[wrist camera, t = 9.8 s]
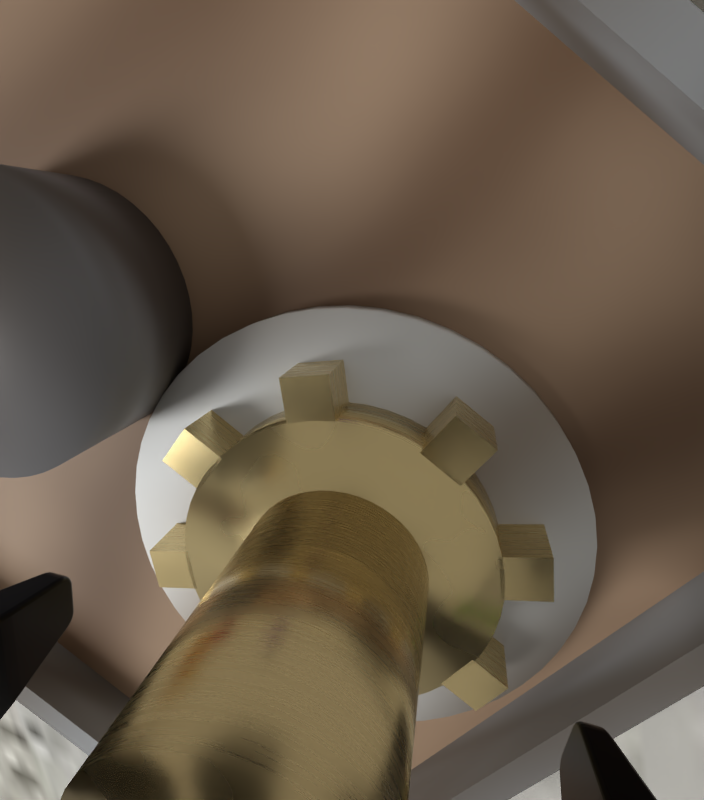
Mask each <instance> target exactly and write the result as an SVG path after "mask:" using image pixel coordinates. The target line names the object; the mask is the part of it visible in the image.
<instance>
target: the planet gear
mask: <svg viewBox="0 0 704 800" xmlns="http://www.w3.org/2000/svg"><path fill="white" fill-rule="evenodd" d="M279 382H280V388H281V394H282V400H283V406H284V411H282V412H280V413H278V414H275V415H273V416H271V417H269V418H267V419H266V420H264V421H262V422H261V423H259V424H257V425H256V426H254V427H253V428H252V429H251V430H250V431H248V432H247V433H246V434H245V435H244V436H243V435H242V434H241V433H240V432H238V431H237V430H236V429H235V428H233V427H232V426H231V425H230V424H228V423H227V422H226V421H225V420H224V419H222V418H221V417H220V416H219V415H217V414H216V413H215V412H214V411H212V410H211V411H209V412H208V413H206V414H205V415H203V416H202V417H200V418H199V419H198V420H196V421H195V422H193V423H192V424H190V425H189V426H187V427H186V428H184V430H183V431H182V433H181V434H180V436H179V437H178V439H177V440H176V441H175V443H174V444H173V446H172V447H171V449H170V450H169V452H168V453H167V455H166V456H165V457H164V459H163V460H162V461H163V462H164V463H166V464H167V465H168V466H169V467H171V468H172V469H173V470H174V471H176V472H177V473H178V474H179V475H181V476H182V477H183V478H184V479H186V480H187V481H188V482H189V483H191V484H192V485H193V486H194V487H196V491H195V493H194V495H193V498H192V500H191V502H190V506H189V510H188V514H187V518H186V523H177V524H176V525H175V526H174V527H173V528H172V529H171V530H170V531H169V532H168V533H167V534H166V535H165V536H164V537H163V538H162V539H161V540H160V541H159V542H158V543H157V544H156V545H155V546H154V547H153V548H152V549H151V550H150V555H151V559H152V562H153V566H154V569H155V573H156V577H157V580H158V584H159V587H164V588H191V589H195V590H196V592H197V594H198V597H199V599H200V603H199V604H198V605H197V607H196V608H195V609H194V611H193V612H192V614H191V615H190V616H189V618H188V619H187V621H186V622H185V623H184V625H183V626H182V627H181V629H180V630H179V632H178V633H177V634H176V636H175V637H174V639H173V640H172V641H171V643H170V644H169V646H168V647H167V648H166V650H165V651H164V652H163V654H162V655H161V657H160V658H159V659H158V661H157V662H156V664H155V665H154V666H153V668H152V669H151V671H150V672H149V673H148V675H147V676H146V677H145V679H144V680H143V682H142V683H141V684H140V686H139V687H138V689H137V690H136V691H135V693H134V694H133V696H132V697H131V698H130V700H129V701H128V702H127V704H126V705H125V707H124V708H123V709H122V711H121V712H120V714H119V715H118V716H117V718H116V719H115V720H114V722H113V723H112V725H111V726H110V727H109V729H108V730H107V732H106V733H105V734H104V736H103V737H102V739H101V740H100V741H99V743H98V744H97V745H96V747H95V748H94V750H93V751H92V752H91V754H90V755H89V757H88V758H87V759H86V761H85V762H84V764H83V765H82V766H81V768H80V769H79V770H78V772H77V773H76V775H75V776H74V777H73V779H72V780H71V782H70V783H69V784H68V786H67V787H66V788H65V791H64V793H63V795H62V798H61V800H408V797H409V787H410V777H411V767H412V756H413V746H414V736H415V726H416V715H417V705H418V695H421V694H424V693H427V692H430V691H432V690H434V689H436V688H438V687H440V686H443V685H444V686H445V687H446V688H447V689H449V690H450V691H451V692H452V693H454V694H455V695H456V696H457V697H459V698H460V699H461V700H462V701H464V702H465V703H466V704H467V705H469V706H470V707H471V708H473V709H474V710H475V711H477V710H478V709H480V708H481V707H483V706H484V705H485V704H487V703H488V702H490V701H491V700H493V699H494V698H496V697H497V696H498V695H500V694H501V693H503V692H504V691H506V690H507V689H508V681H507V671H506V661H505V651H504V645H503V644H501V643H500V642H499V641H498V640H496V639H495V638H494V637H493V635H494V633H495V630H496V628H497V625H498V623H499V620H500V617H501V613H502V608H503V604H504V600H511V601H538V602H554V558H553V554H552V550H551V547H550V543H549V540H548V536H547V533H546V529H545V526H544V524H498V521H497V518H496V514H495V511H494V507H493V505H492V503H491V501H490V498H489V496H488V494H487V492H486V489H485V488H484V486H483V485H482V483H481V481H480V480H479V478H478V477H477V475H476V473H475V472H476V471H477V470H478V469H479V468H480V467H481V466H482V465H483V464H484V463H485V462H486V461H487V460H488V459H489V458H490V457H491V456H493V455H494V454H495V453H496V452H497V451H498V449H497V442H496V436H495V430H494V427H493V426H492V425H491V424H490V423H489V422H487V421H486V420H485V419H484V418H483V417H481V416H480V415H479V414H478V413H476V412H475V411H474V410H473V409H472V408H470V407H469V406H468V405H467V404H466V403H464V402H463V401H462V400H461V399H460V398H458V397H457V396H456V397H455V398H454V399H453V400H452V401H451V402H450V403H449V404H448V405H447V407H446V408H445V409H444V410H443V411H442V412H441V413H440V414H439V415H438V416H437V417H436V418H435V419H434V420H433V421H432V422H431V423H430V424H429V426H428V427H427V428H426V427H424V426H422V425H420V424H418V423H417V422H415V421H413V420H411V419H409V418H407V417H404V416H402V415H399V414H397V413H394V412H392V411H389V410H386V409H382V408H378V407H375V406H371V405H366V404H359V403H351V402H349V398H348V391H347V383H346V376H345V368H344V361H343V360H331V361H318V362H305V363H298V364H296V365H295V366H294V367H292V368H291V369H290V370H288V371H287V372H286V373H284V374H283V375H282V376H281V377H279Z"/></svg>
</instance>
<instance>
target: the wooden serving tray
mask: <svg viewBox="0 0 704 800" xmlns="http://www.w3.org/2000/svg"><path fill="white" fill-rule="evenodd" d="M331 360H343V361H344V368H345V376H346V383H347V391H348V398H349V402H351V403H359V404H366V405H371V406H375V407H378V408H382V409H386V410H389V411H392V412H394V413H397V414H399V415H402V416H404V417H407V418H409V419H411V420H413V421H415V422H417V423H418V424H420V425H422V426H424V427H426V428H427V427H428V426H429V424H430V423H431V422H432V421H433V420H434V419H435V418H436V417H437V416H438V415H439V414H440V413H441V412H442V411H443V410H444V409H445V408H446V407H447V405H448V404H449V403H450V402H451V401H452V400H453V399H454V398H455V397H456V396H457V397H458V398H460V399H461V400H462V401H463V402H464V403H466V404H467V405H468V406H469V407H470V408H472V409H473V410H474V411H475V412H476V413H478V414H479V415H480V416H481V417H483V418H484V419H485V420H486V421H487V422H489V423H490V424H491V425H492V426H493V427H494V430H495V436H496V442H497V449H498V451H497V452H496V453H495V454H494V455H493V456H491V457H490V458H489V459H488V460H487V461H486V462H485V463H484V464H483V465H482V466H481V467H480V468H479V469H478V470H477V471H476V472H475V473H476V475H477V477H478V478H479V480H480V481H481V483H482V485H483V486H484V488H485V489H486V492H487V494H488V496H489V498H490V501H491V503H492V505H493V507H494V511H495V514H496V518H497V521H498V524H544V526H545V529H546V533H547V536H548V540H549V543H550V547H551V550H552V554H553V558H554V602H538V601H511V600H504V604H503V608H502V613H501V617H500V620H499V623H498V625H497V628H496V630H495V633H494V635H493V637H494V638H495V639H496V640H498V641H499V642H500V643H501V644H503V645H504V651H505V661H506V671H507V681H508V689H507V690H506V691H504V692H503V693H501V694H500V695H498V696H497V697H496V698H494V699H493V700H491V701H490V702H488V703H487V704H485V705H484V706H483V707H481V708H480V709H478V710H477V711H475V710H474V709H473V708H471V707H470V706H469V705H467V704H466V703H465V702H464V701H462V700H461V699H460V698H459V697H457V696H456V695H455V694H454V693H452V692H451V691H450V690H449V689H447V688H446V687H445V686H444V685H443V686H440V687H438V688H436V689H434V690H432V691H430V692H427V693H424V694H421V695H418V705H417V715H416V726H415V736H414V746H413V756H412V767H411V777H410V787H409V797H408V800H508V799H510V798H512V797H513V796H515V795H517V794H519V793H520V792H522V791H524V790H526V789H527V788H529V787H531V786H532V785H534V784H536V783H538V782H539V781H541V780H543V779H544V778H546V777H548V776H550V775H551V774H553V773H555V772H557V771H558V770H560V761H561V756H562V753H563V751H564V748H565V745H566V743H567V740H568V738H569V735H570V733H571V730H572V728H573V726H574V724H575V723H576V722H578V721H582V722H586V723H590V724H593V725H597V726H600V727H602V728H604V729H605V730H606V731H607V732H608V733H609V734H610V736H611V737H612V738H615V737H617V736H619V735H620V734H622V733H624V732H626V731H627V730H629V729H631V728H632V727H634V726H636V725H638V724H639V723H641V722H643V721H645V720H646V719H648V718H650V717H651V716H653V715H655V714H657V713H658V712H660V711H662V710H664V709H665V708H667V707H669V706H670V705H672V704H674V703H676V702H677V701H679V700H681V699H682V698H684V697H686V696H688V695H689V694H691V693H693V692H695V691H696V690H698V689H700V688H701V687H703V686H704V12H703V11H702V10H700V9H699V8H698V7H697V6H696V5H695V4H694V3H693V2H691V1H690V0H0V590H1V589H4V588H7V587H9V586H12V585H14V584H17V583H20V582H22V581H25V580H27V579H30V578H33V577H35V576H38V575H41V574H43V573H47V572H53V573H57V574H60V575H64V576H67V577H69V578H70V580H71V582H72V592H73V606H74V613H73V617H72V620H71V622H70V624H69V626H68V627H67V629H66V630H65V632H64V633H63V634H62V636H61V637H60V639H59V640H58V641H57V643H56V644H55V646H54V647H53V649H52V650H51V651H50V653H49V654H48V656H47V657H46V658H45V660H44V661H43V663H42V664H41V665H40V667H39V668H38V670H37V671H36V672H35V674H34V675H33V677H32V678H31V680H30V681H29V682H28V684H27V685H26V687H25V688H24V689H23V691H22V692H21V694H20V695H19V696H18V698H17V699H16V700H17V701H18V702H20V703H21V704H22V705H23V706H25V707H26V708H27V709H29V710H30V711H31V712H33V713H34V714H35V715H36V716H38V717H39V718H40V719H42V720H43V721H44V722H46V723H47V724H48V725H50V726H51V727H52V728H53V729H55V730H56V731H57V732H59V733H60V734H61V735H63V736H64V737H65V738H66V739H68V740H69V741H70V742H72V743H73V744H74V745H76V746H77V747H78V748H79V749H81V750H82V751H83V752H85V753H86V754H87V755H90V754H91V752H92V751H93V750H94V748H95V747H96V745H97V744H98V743H99V741H100V740H101V739H102V737H103V736H104V734H105V733H106V732H107V730H108V729H109V727H110V726H111V725H112V723H113V722H114V720H115V719H116V718H117V716H118V715H119V714H120V712H121V711H122V709H123V708H124V707H125V705H126V704H127V702H128V701H129V700H130V698H131V697H132V696H133V694H134V693H135V691H136V690H137V689H138V687H139V686H140V684H141V683H142V682H143V680H144V679H145V677H146V676H147V675H148V673H149V672H150V671H151V669H152V668H153V666H154V665H155V664H156V662H157V661H158V659H159V658H160V657H161V655H162V654H163V652H164V651H165V650H166V648H167V647H168V646H169V644H170V643H171V641H172V640H173V639H174V637H175V636H176V634H177V633H178V632H179V630H180V629H181V627H182V626H183V625H184V623H185V622H186V621H187V619H188V618H189V616H190V615H191V614H192V612H193V611H194V609H195V608H196V607H197V605H198V604H199V603H200V599H199V597H198V594H197V592H196V590H195V589H191V588H164V587H159V584H158V580H157V577H156V573H155V569H154V566H153V562H152V559H151V555H150V550H151V549H152V548H153V547H154V546H155V545H156V544H157V543H158V542H159V541H160V540H161V539H162V538H163V537H164V536H165V535H166V534H167V533H168V532H169V531H170V530H171V529H172V528H173V527H174V526H175V525H176V524H177V523H186V518H187V514H188V510H189V506H190V502H191V500H192V498H193V495H194V493H195V491H196V487H194V486H193V485H192V484H191V483H189V482H188V481H187V480H186V479H184V478H183V477H182V476H181V475H179V474H178V473H177V472H176V471H174V470H173V469H172V468H171V467H169V466H168V465H167V464H166V463H164V462H163V461H162V460H163V459H164V457H165V456H166V455H167V453H168V452H169V450H170V449H171V447H172V446H173V444H174V443H175V441H176V440H177V439H178V437H179V436H180V434H181V433H182V431H183V430H184V428H186V427H187V426H189V425H190V424H192V423H193V422H195V421H196V420H198V419H199V418H200V417H202V416H203V415H205V414H206V413H208V412H209V411H211V410H212V411H214V412H215V413H216V414H217V415H219V416H220V417H221V418H222V419H224V420H225V421H226V422H227V423H228V424H230V425H231V426H232V427H233V428H235V429H236V430H237V431H238V432H240V433H241V434H242V435H243V436H244V435H245V434H246V433H247V432H248V431H250V430H251V429H252V428H253V427H254V426H256V425H257V424H259V423H261V422H262V421H264V420H266V419H267V418H269V417H271V416H273V415H275V414H278V413H280V412H282V411H284V406H283V400H282V394H281V388H280V382H279V377H281V376H282V375H283V374H284V373H286V372H287V371H288V370H290V369H291V368H292V367H294V366H295V365H296V364H298V363H305V362H318V361H331Z"/></svg>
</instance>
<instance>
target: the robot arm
mask: <svg viewBox="0 0 704 800" xmlns="http://www.w3.org/2000/svg"><path fill="white" fill-rule="evenodd" d="M73 613H74V606H73V592H72V582H71V580H70V578H69V577H67V576H64V575H60V574H57V573H53V572H47V573H43V574H41V575H38V576H35V577H33V578H30V579H27V580H25V581H22V582H20V583H17V584H14V585H12V586H9V587H7V588H4V589H1V590H0V719H1V718H2V717H3V715H4V714H5V713H6V712H7V710H8V709H9V708H10V707H11V705H12V704H13V703H14V702H15V700H16V699H17V698H18V696H19V695H20V694H21V692H22V691H23V689H24V688H25V687H26V685H27V684H28V682H29V681H30V680H31V678H32V677H33V675H34V674H35V672H36V671H37V670H38V668H39V667H40V665H41V664H42V663H43V661H44V660H45V658H46V657H47V656H48V654H49V653H50V651H51V650H52V649H53V647H54V646H55V644H56V643H57V641H58V640H59V639H60V637H61V636H62V634H63V633H64V632H65V630H66V629H67V627H68V626H69V624H70V622H71V620H72V617H73ZM560 782H561V797H562V800H657V799H656V798H655V796H654V795H653V794H652V792H651V791H650V790H649V788H648V787H647V785H646V784H645V783H644V781H643V780H642V778H641V777H640V776H639V774H638V773H637V772H636V770H635V769H634V767H633V766H632V765H631V763H630V762H629V760H628V759H627V758H626V756H625V755H624V754H623V752H622V751H621V749H620V748H619V747H618V745H617V744H616V742H615V741H614V740H613V738H612V737H611V736H610V734H609V733H608V732H607V731H606V730H605V729H604V728H602V727H600V726H597V725H593V724H590V723H586V722H582V721H578V722H576V723H575V724H574V726H573V728H572V730H571V733H570V735H569V738H568V740H567V743H566V745H565V748H564V751H563V753H562V756H561V761H560Z"/></svg>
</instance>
